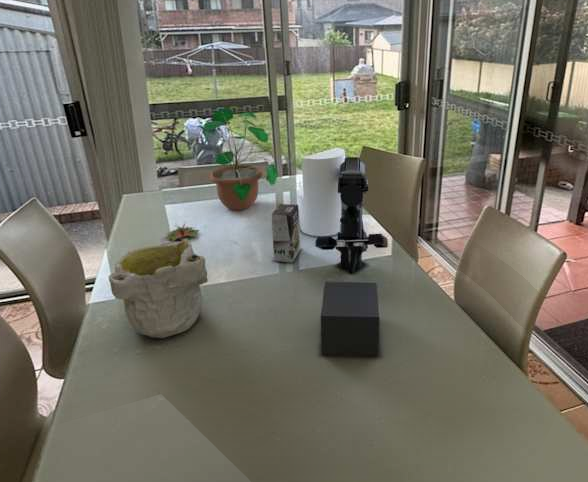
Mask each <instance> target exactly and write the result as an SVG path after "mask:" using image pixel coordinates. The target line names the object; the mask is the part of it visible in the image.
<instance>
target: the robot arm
mask: <svg viewBox="0 0 588 482" xmlns="http://www.w3.org/2000/svg"><path fill="white" fill-rule="evenodd" d="M367 192H369V182H368V179H367V177H366V165H365V163H363V162H362V161H361V157H359V156H346V157H345V161H344V162H343V163H342V164H341V165H340V177H338V193H341V194H340V197H341V218H340V223H341V224H340V232H338V234H336V235H337V238H334V237H332V236H331V235H330V236H316V239H315V243H314V244H315V245H314V246H315V248H318V249H320V250H321V251H333V250H334V249H335V250H336V251H337V252H339V253H340V262H339V263H337V267H338V268H341V269H342V270H345V271H347V272H348V275H349V276H352V275H354V273H356V272H357V271H359V270H361V269H362V268H363V267H365V266H366V265H367V263H366V262H364V261H363V253H364V252H367V249H369V247H368V246H374V247H375V249H386V248H389V246H388V245H389V243H388V242H389V241H388V238H387V237H386V236H385V235H384V234H383V233H369V234H368V235H367V232H366V230H365V228H364V221H363V202H364V194H365V195H366V194H367Z"/></svg>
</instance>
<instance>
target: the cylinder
mask: <svg viewBox="0 0 588 482" xmlns="http://www.w3.org/2000/svg"><path fill="white" fill-rule="evenodd" d="M345 158H346V150H345V149H343V148H341V147H334V148H331V149H326V150H323V151H320V152H316V153H313V154H310V155H305V156H303V157H301V171H302V172H301V175H302V186H301V187H300V188H298V190H297V203H298V204H297V205H298V209H299V231H301V232H302V233H304V234H305V235H309V236H313V237H320V236H330V237H331V236H334V235H338V232H340V224H341V223H340V218H341V197H340V194H341V193H338V177H340V165H341V164H342V163H343V162H344V161H345Z"/></svg>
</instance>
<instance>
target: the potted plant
mask: <svg viewBox="0 0 588 482" xmlns="http://www.w3.org/2000/svg"><path fill="white" fill-rule="evenodd" d="M237 117H238V118H241V117H244V120H241V121H239V120H238V122H240V123H244V135H243V136H242V135H241V136H240V135H239V136H237V135H235V136H234V135H233V132H232V129H231V127H230V125H229V121H230V120H232V119H234V113H233V109H231V108H222V109H219V110H217V111H215V112H214V114H213V115H212V117H211V121H207V122H205V123H204V124H203V129H204V131H205V132H206V136H205V140H204V143H203V144H204V145H205V144H207V143H208V139H209V134H210V133H209V132H210V131H212V130H214V129H215V128H216V127H218V128H219V130H220V131H221V133H222V135H223V136H224V138H225V140H226V142H227V144H228V147H229V149H230V150H229V151H228V150H227V151H225V152H223V151H222V149H221V147H220V146H219V144H218V142H217V140H216V139H215V138H213V140H214V142H215V144H216V146H217V148H218V149H219V151H220V152H221V153H219V154H218V155H217V157H216V158H215V163H217V164H218V165H220V166H225V167H221V168H217V169H216V170H213V171H212V172H211V173H210V177H209V179H210V180H211V181H212V182H214V184H215V186H216V192H217V197H218V199H219V201H220V202H221V204H222V205H224V207H226V208H227V209H229V210H231V211H244V210H247V209H249V208H251V207H252V205H253V204H254V203H255V202H256V200H257V199H258V196H259V180H260V179H261V178H262V177H263V171H262V170H261V169H263V170H266V178H265V181H267V182H268V183H269V184H270V186H273V185H275V184H276V182H277V178H278V175H279V172H278V170H277V169H276V166H275V165H274V163H270V165H269V166H268V167H267V168H264V167H262V166H253V165H244V164H243V165H241V163H243V162H244V161H246V159H247V158H248V157H249V156H250V155H251V153H252V151H253V148H254V144H255V141H256V139H257V140H258V141H260V142H261V143H265V144H266V143H267V142H268V141H269V134H268V133H267V132H266V131H265V129H264V128H261V127H258V126H256V124H255V123H253V122H252V121H250V120H247V117H250V118H253V119H255V120H256V119H257V116H256V114H255V113H253V112H249V111H248V112H244V113H243V112H242V113H240V114H238V115H237ZM226 125H227V126H228V128H229V131H230V134H231V136H230V138H231V139H232V141H233V142H232V143H233V145H234V150H235V151H233V149H232V147H231V144H230V142H229V140H228V139H227V137H226V135H225V132H224V131H223V129H222V128H221V126H226ZM248 125H252V126H248ZM247 130H248V131H249V132H250V133H251V134H253V136H255V137H254V140H253V142H252V147H251V149H250V150H249V153H248V154H247V156H246V157H244V158H243V159H242V160H241V161H240V158H241V155H242V152H243V149H244V144H245V141H246V135H247ZM210 136H211V137H213V135H212V134H210ZM235 139H237V147H236V143H235ZM242 139H243V140H242ZM239 140H242V142H241V145H240V141H239ZM239 145H240V147H239ZM234 152H235V153H234ZM238 154H239V155H238ZM234 159H235V160H234ZM226 165H229V166H226Z"/></svg>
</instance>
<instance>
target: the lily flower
mask: <svg viewBox="0 0 588 482" xmlns="http://www.w3.org/2000/svg"><path fill="white" fill-rule="evenodd" d="M183 222H184V223H183V224H182V226H181V227H180V225H177V226H176V224H175V225H174V226H173V227H176V228H175V229H174V230H171V231H169V232H168V234H167V235H166V236H164V237H163V238H164V239H171V242H175V241H176V240H177V239H178V240H181V241H182V240H185V239H187V240H189V239H188V238H190V237H197V235H196V234H195V233H198V232H200V231H201V230H200V229H193V227H189V225H187V226H186V224H187V223H186V222H185V221H183Z"/></svg>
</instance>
